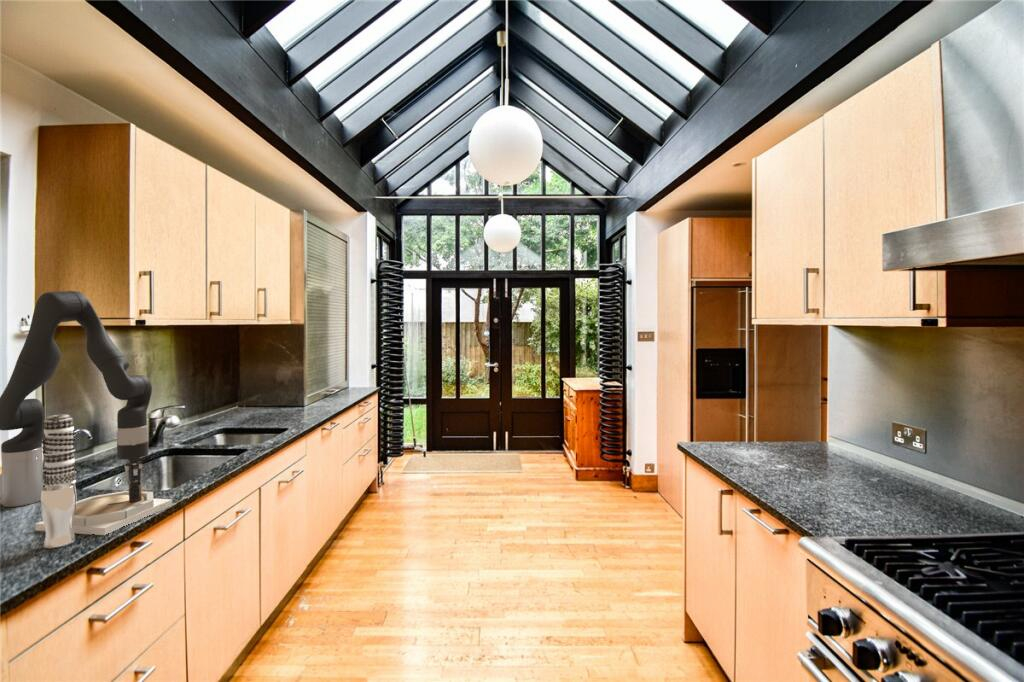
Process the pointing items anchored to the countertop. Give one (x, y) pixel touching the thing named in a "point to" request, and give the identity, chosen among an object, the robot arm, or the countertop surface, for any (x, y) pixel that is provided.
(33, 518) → the countertop surface
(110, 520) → the dial housing
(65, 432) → the decorative candle
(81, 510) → the dial
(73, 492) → the beer glass
